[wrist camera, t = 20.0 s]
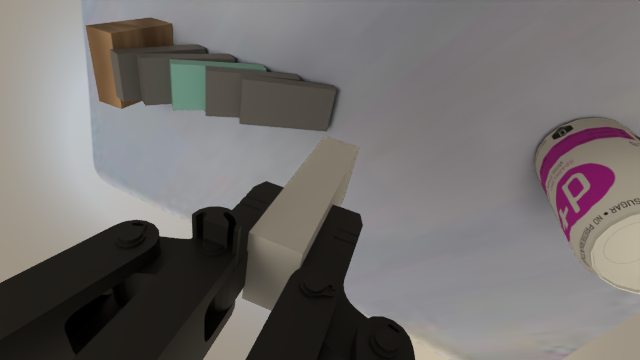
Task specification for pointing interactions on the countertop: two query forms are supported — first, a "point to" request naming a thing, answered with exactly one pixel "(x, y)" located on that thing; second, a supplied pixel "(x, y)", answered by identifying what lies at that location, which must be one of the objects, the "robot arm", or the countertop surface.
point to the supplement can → (596, 195)
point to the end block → (120, 37)
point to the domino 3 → (195, 81)
